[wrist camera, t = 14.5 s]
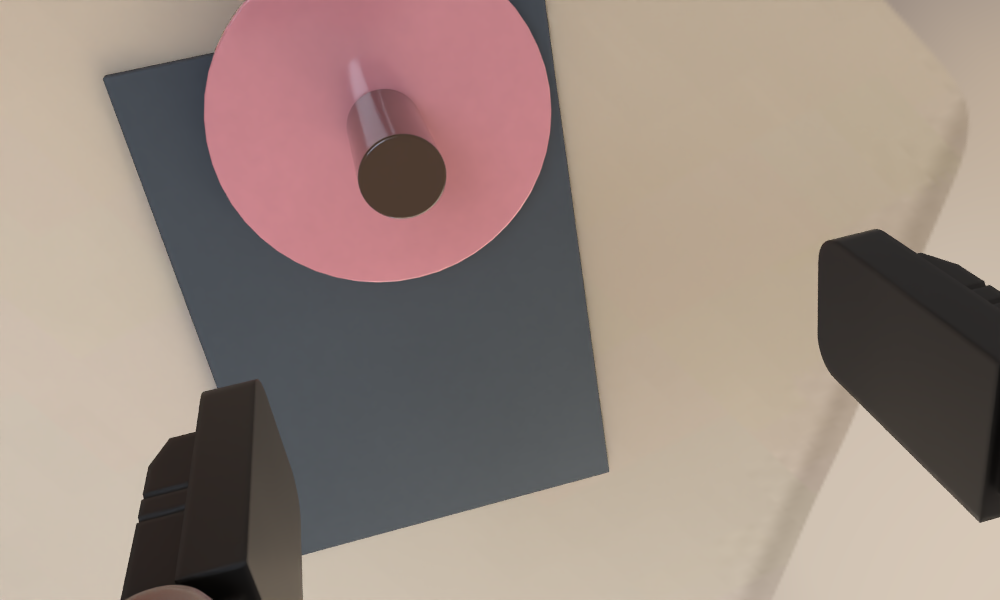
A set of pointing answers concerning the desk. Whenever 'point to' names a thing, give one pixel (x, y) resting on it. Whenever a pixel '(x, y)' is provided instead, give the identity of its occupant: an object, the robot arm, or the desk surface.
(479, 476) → the mat
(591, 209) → the desk surface
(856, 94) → the desk surface
